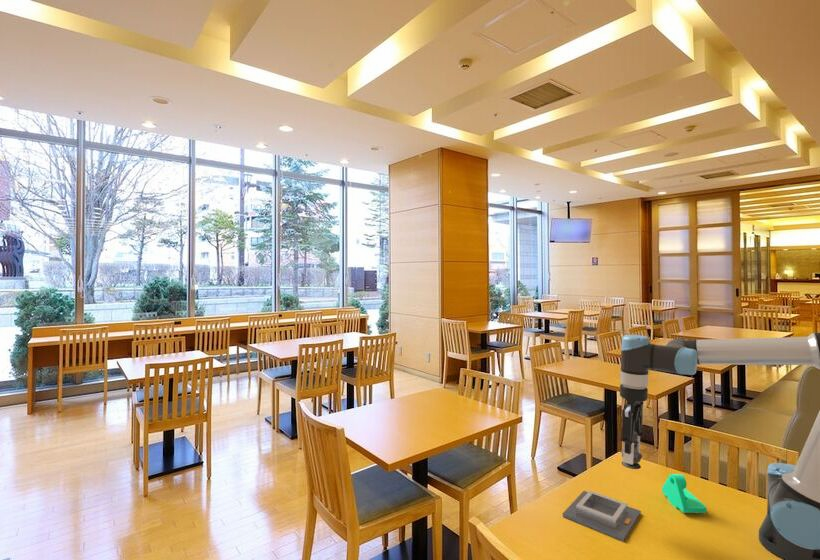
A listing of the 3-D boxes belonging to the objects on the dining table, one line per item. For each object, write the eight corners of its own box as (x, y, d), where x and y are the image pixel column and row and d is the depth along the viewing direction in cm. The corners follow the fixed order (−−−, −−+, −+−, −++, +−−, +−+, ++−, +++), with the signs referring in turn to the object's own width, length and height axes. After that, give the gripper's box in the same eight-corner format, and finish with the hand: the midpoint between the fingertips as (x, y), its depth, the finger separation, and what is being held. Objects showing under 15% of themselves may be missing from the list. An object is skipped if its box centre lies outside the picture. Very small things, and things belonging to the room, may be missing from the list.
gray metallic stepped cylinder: (641, 471, 125) (642, 432, 124) (619, 466, 128) (620, 428, 127) (642, 463, 130) (644, 426, 129) (621, 458, 133) (622, 421, 132)
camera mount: (707, 516, 132) (708, 484, 131) (683, 516, 132) (683, 484, 132) (684, 495, 144) (684, 466, 143) (662, 495, 144) (662, 466, 144)
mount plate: (640, 514, 133) (640, 503, 133) (623, 541, 120) (623, 529, 120) (583, 493, 145) (583, 483, 145) (562, 516, 132) (562, 505, 132)
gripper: (629, 377, 137) (627, 445, 138) (610, 389, 123) (608, 465, 124) (655, 381, 132) (652, 453, 133) (638, 395, 118) (635, 474, 119)
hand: (631, 459), depth 129 cm, fingers closed on gray metallic stepped cylinder, 6 cm apart
